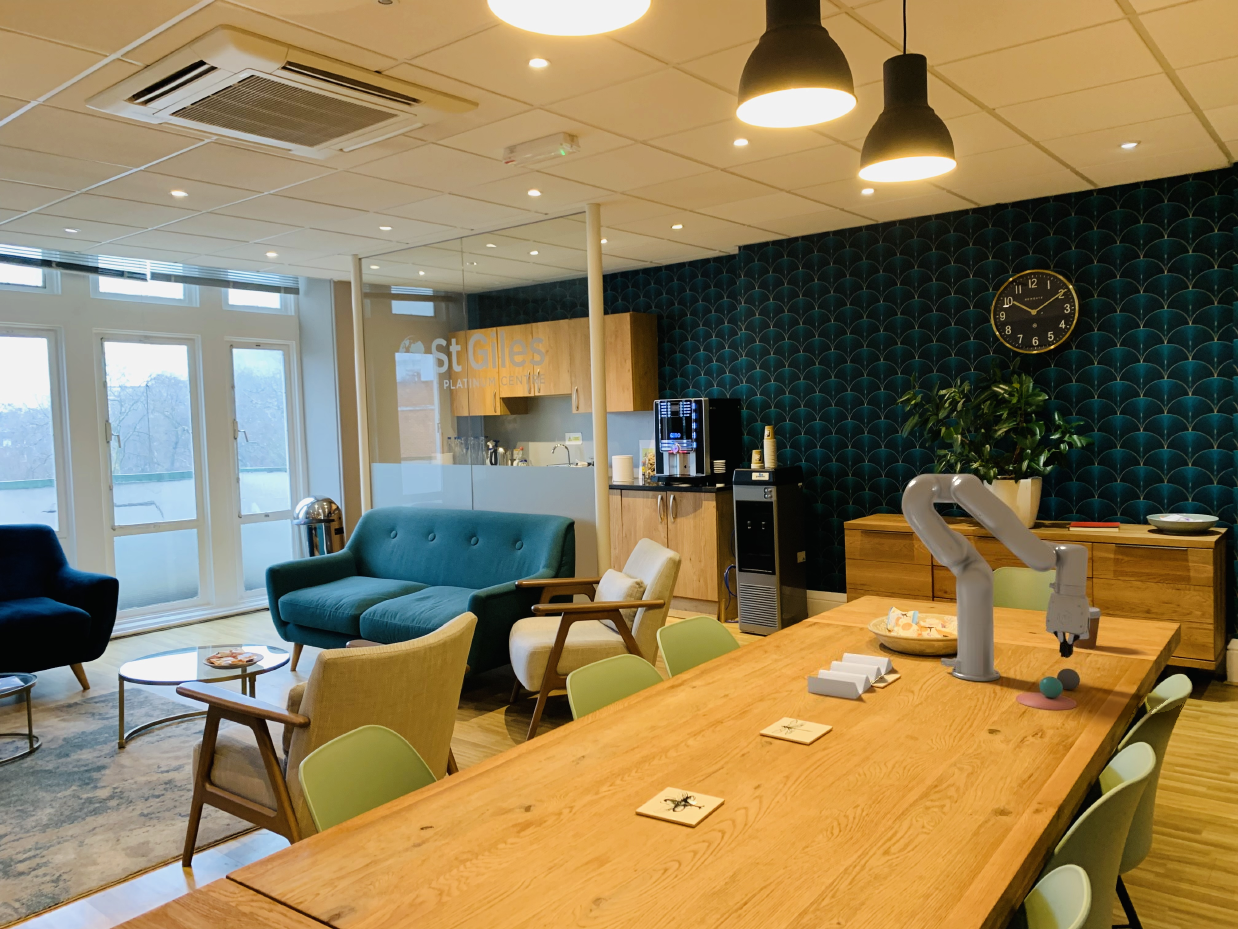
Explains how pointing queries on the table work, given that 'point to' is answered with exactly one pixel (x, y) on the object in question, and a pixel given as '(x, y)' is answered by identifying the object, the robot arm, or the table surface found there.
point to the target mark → (1045, 701)
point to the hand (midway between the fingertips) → (1065, 656)
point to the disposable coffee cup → (1090, 631)
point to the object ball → (1051, 687)
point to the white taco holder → (849, 676)
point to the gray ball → (1068, 679)
